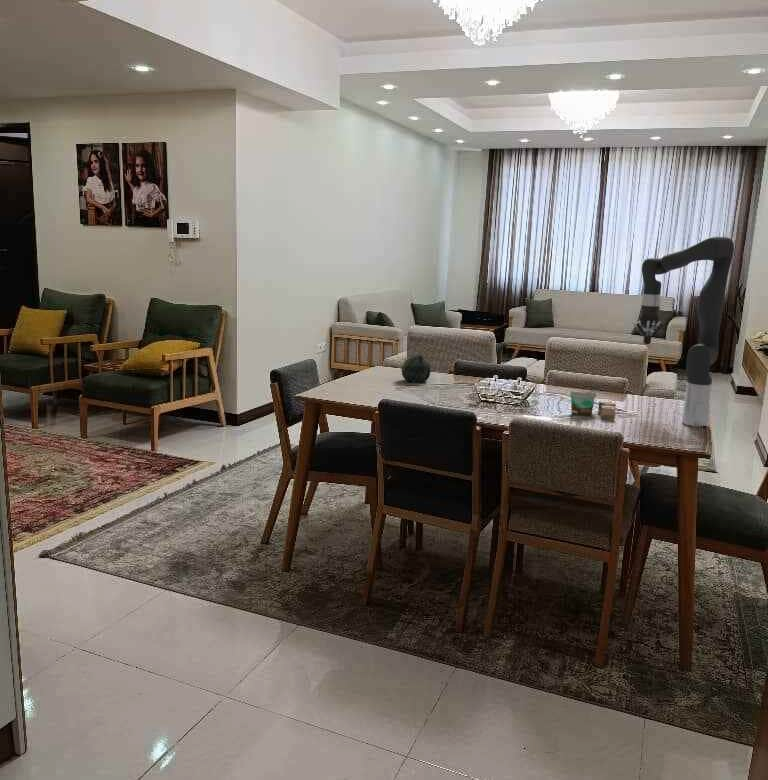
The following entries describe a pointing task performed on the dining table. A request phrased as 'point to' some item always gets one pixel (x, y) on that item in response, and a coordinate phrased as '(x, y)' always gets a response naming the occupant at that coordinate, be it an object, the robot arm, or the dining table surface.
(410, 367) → the squash
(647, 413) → the dining table surface
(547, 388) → the dining table surface
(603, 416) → the marked block
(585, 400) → the food container
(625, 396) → the dining table surface
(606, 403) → the marked block
